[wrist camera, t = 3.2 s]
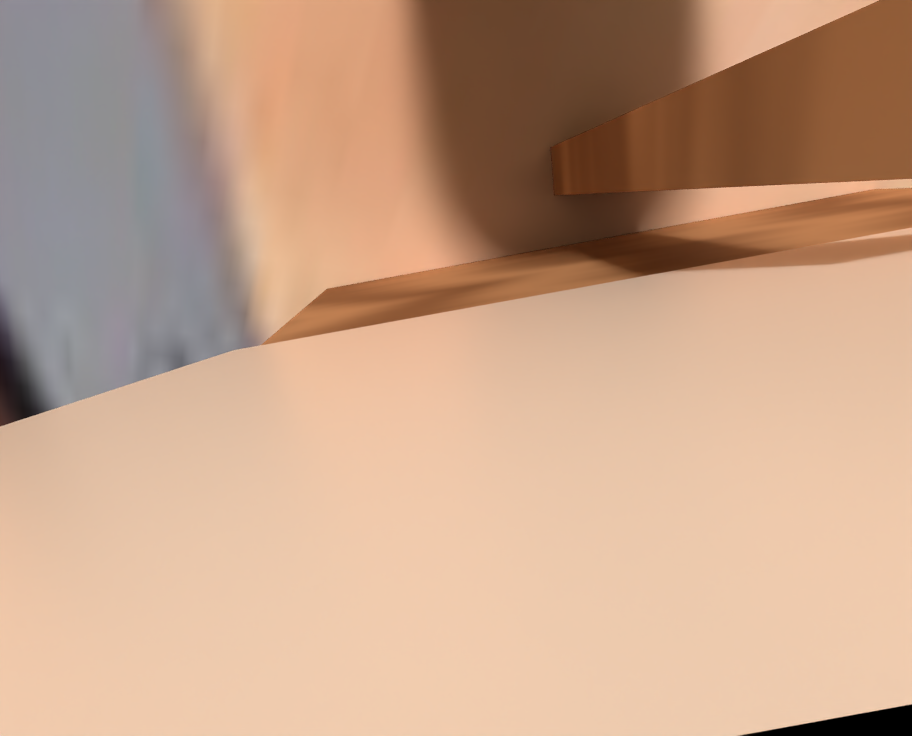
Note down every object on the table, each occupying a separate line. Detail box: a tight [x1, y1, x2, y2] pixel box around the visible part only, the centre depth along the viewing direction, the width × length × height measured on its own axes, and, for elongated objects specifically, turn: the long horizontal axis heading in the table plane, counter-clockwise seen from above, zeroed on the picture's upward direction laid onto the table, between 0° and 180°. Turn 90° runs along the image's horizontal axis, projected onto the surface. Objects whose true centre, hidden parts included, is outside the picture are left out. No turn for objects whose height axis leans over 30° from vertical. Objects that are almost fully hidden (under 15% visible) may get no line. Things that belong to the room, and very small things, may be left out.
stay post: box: [551, 0, 912, 195], centre depth 9 cm, size 3×2×12 cm, turn 100°
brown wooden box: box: [262, 188, 912, 345], centre depth 15 cm, size 20×15×8 cm
